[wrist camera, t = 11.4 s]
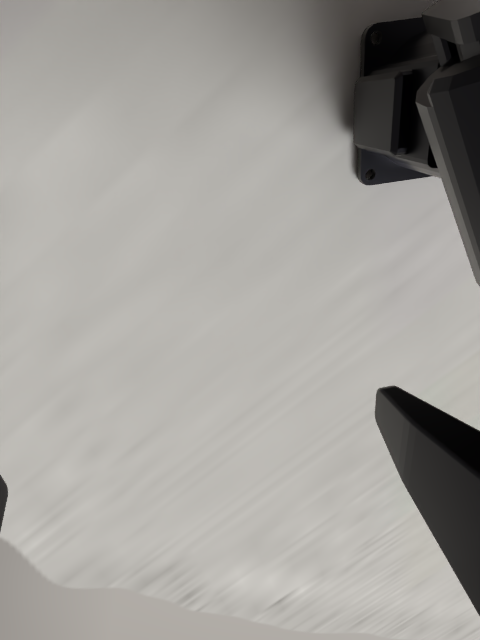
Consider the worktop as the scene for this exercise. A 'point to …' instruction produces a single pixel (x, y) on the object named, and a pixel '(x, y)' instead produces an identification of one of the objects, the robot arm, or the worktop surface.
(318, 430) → the worktop surface
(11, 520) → the worktop surface
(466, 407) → the worktop surface
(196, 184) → the worktop surface
